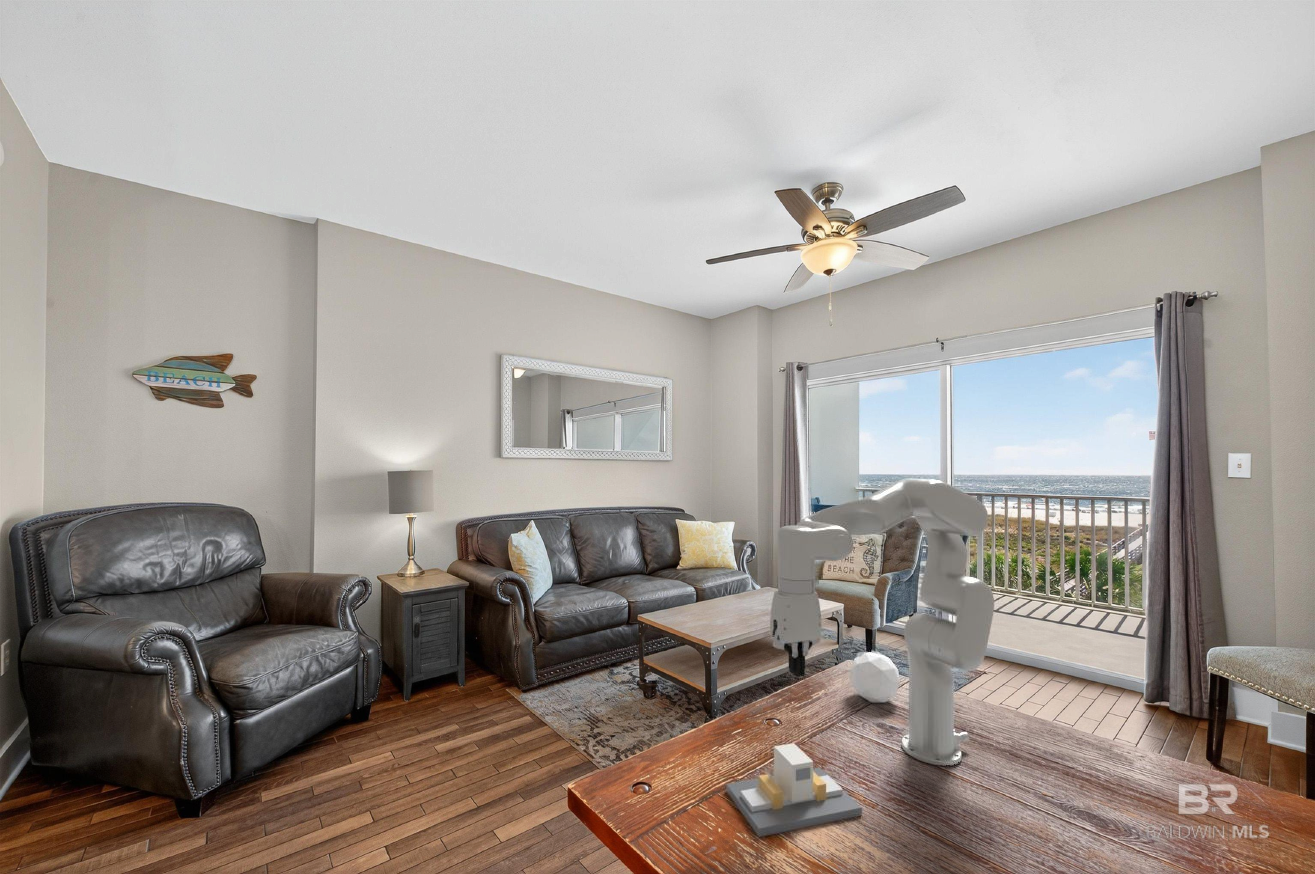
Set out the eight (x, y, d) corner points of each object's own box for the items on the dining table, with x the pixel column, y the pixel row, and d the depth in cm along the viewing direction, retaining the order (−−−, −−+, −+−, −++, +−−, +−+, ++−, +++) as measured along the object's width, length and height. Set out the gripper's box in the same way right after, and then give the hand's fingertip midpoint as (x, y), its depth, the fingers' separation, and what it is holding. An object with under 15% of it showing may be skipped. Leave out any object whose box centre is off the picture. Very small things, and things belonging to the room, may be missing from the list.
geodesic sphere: (840, 685, 151) (872, 648, 150) (833, 667, 164) (862, 632, 163) (884, 721, 149) (916, 684, 148) (872, 700, 162) (902, 665, 161)
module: (793, 777, 112) (793, 743, 113) (813, 798, 105) (813, 762, 106) (773, 781, 111) (774, 746, 111) (792, 803, 104) (793, 765, 104)
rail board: (819, 774, 118) (819, 753, 118) (861, 815, 105) (861, 791, 105) (726, 791, 111) (726, 768, 112) (758, 836, 98) (759, 811, 98)
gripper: (816, 578, 120) (816, 662, 120) (755, 584, 115) (756, 671, 115) (837, 586, 113) (838, 676, 113) (774, 592, 108) (774, 686, 108)
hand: (796, 673), depth 114 cm, fingers closed
